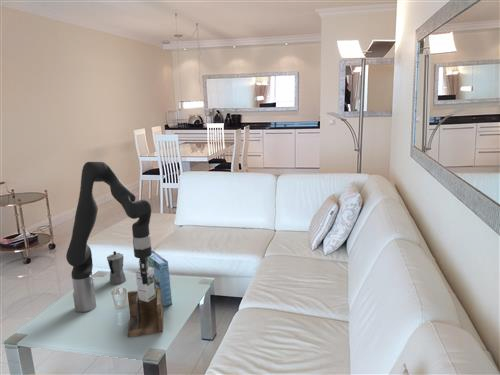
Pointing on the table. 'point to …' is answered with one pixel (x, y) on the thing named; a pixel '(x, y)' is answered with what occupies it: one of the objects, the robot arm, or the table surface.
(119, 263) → the coffeepot
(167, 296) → the gum box
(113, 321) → the table surface
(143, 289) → the syrup box
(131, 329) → the bookshelf
